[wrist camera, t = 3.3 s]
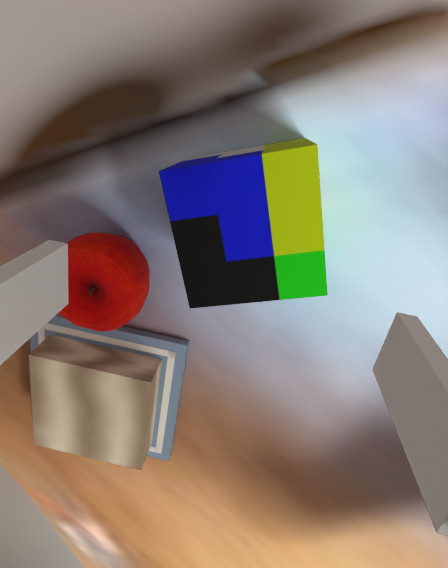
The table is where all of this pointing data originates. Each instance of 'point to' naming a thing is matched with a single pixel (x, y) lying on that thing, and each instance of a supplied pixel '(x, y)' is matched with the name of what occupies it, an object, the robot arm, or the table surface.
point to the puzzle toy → (248, 224)
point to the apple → (104, 281)
